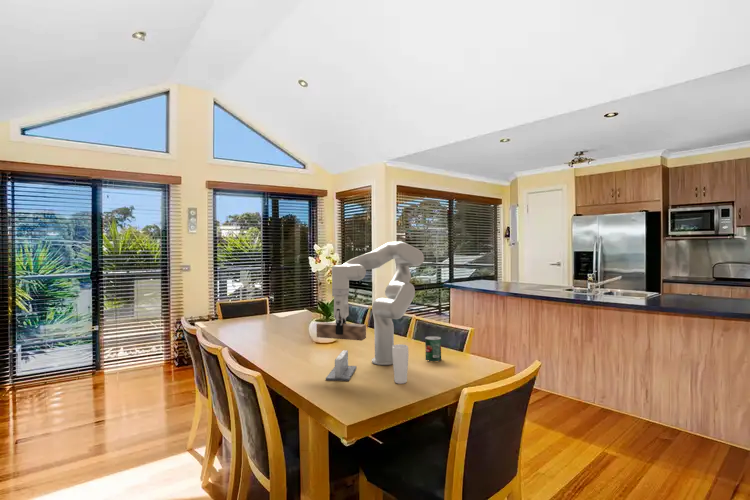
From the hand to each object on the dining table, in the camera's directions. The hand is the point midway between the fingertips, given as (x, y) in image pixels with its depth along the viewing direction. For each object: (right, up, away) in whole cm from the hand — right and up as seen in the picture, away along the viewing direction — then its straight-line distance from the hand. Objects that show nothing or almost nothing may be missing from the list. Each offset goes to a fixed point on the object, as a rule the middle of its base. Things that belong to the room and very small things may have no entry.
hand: (341, 332), depth 172 cm
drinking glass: (+26, -19, -11) cm, 34 cm away
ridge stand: (0, -19, 0) cm, 19 cm away
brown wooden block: (0, -2, 0) cm, 2 cm away
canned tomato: (+44, -18, +20) cm, 52 cm away
